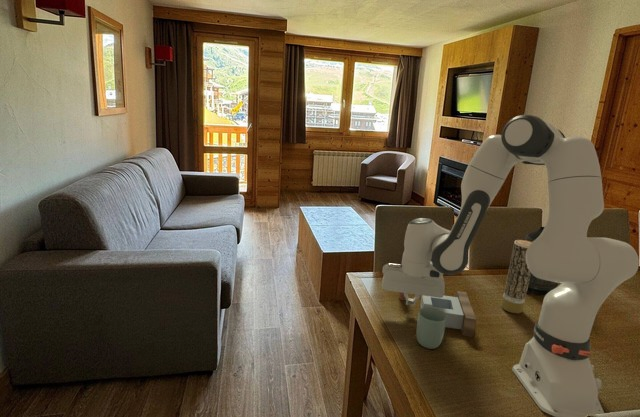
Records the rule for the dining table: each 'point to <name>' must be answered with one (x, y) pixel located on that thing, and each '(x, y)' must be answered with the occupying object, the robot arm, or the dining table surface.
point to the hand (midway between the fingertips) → (410, 304)
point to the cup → (430, 327)
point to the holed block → (446, 309)
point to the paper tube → (517, 279)
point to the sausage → (401, 296)
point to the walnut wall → (466, 314)
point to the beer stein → (535, 283)
